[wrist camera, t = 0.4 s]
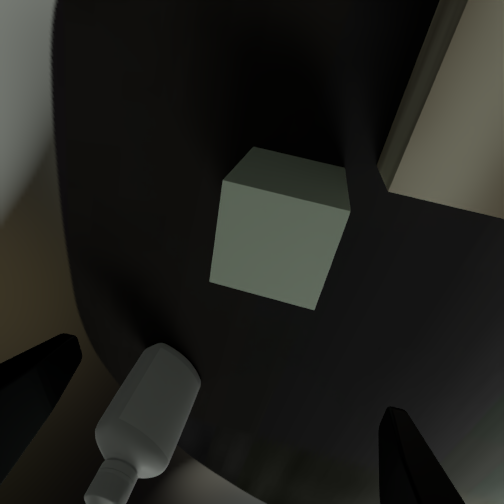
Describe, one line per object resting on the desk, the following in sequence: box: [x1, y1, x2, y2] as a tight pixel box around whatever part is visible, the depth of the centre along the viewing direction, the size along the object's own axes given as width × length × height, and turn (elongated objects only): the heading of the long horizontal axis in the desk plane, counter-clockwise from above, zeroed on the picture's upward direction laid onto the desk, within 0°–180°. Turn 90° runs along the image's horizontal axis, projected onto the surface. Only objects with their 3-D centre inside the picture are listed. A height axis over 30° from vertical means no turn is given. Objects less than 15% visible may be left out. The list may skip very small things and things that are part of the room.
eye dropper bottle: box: [84, 343, 201, 504], centre depth 23 cm, size 4×6×12 cm
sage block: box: [210, 147, 350, 310], centre depth 16 cm, size 5×5×6 cm
